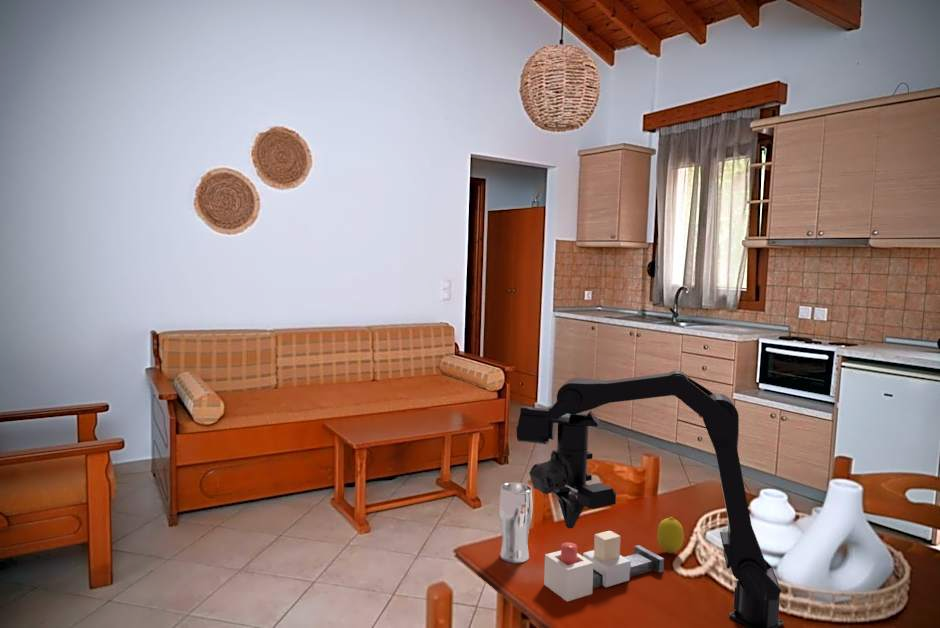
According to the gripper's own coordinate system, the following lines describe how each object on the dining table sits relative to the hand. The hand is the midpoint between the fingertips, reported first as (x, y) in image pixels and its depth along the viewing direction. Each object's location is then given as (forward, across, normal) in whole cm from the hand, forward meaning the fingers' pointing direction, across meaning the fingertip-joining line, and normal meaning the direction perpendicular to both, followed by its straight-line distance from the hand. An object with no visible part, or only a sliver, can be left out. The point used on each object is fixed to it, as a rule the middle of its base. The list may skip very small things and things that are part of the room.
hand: (569, 527), depth 117 cm
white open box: (+12, 0, 0) cm, 12 cm away
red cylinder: (+8, 0, 0) cm, 8 cm away
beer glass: (+12, -16, -2) cm, 20 cm away
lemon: (+12, -2, +30) cm, 32 cm away
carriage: (+12, 0, +10) cm, 15 cm away
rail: (+12, 0, +12) cm, 17 cm away
